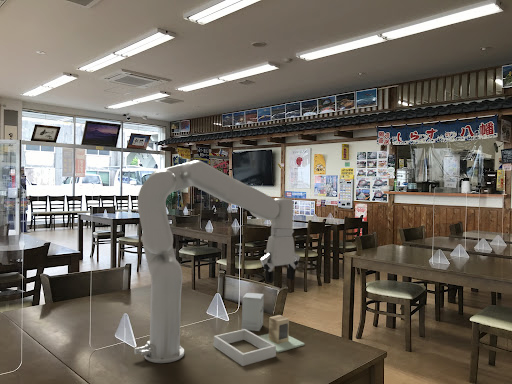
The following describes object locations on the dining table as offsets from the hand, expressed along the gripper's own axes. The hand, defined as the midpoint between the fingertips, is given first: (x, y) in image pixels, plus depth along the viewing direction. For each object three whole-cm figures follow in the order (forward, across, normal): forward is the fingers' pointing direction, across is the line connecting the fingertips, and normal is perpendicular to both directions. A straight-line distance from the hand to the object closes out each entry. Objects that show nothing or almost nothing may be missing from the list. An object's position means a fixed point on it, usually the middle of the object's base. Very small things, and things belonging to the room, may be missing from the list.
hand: (279, 280), depth 141 cm
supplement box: (+22, -1, -17) cm, 28 cm away
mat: (+22, 0, 0) cm, 22 cm away
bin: (+22, +15, 0) cm, 26 cm away
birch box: (+21, 0, 0) cm, 21 cm away
